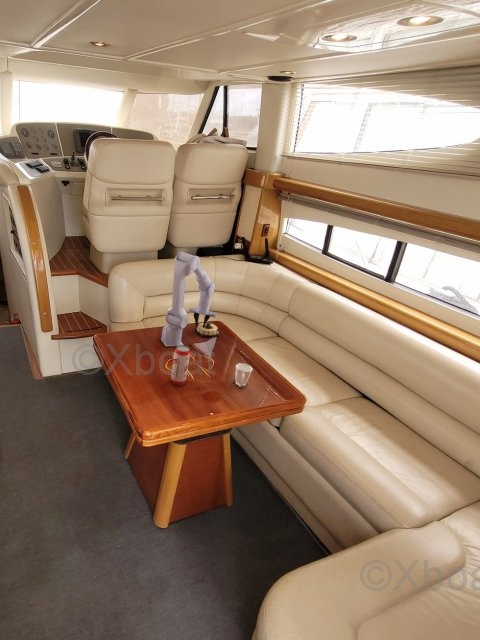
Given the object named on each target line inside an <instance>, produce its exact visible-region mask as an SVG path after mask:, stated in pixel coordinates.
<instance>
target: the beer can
mask: <svg viewBox="0 0 480 640" xmlns="http://www.w3.org/2000/svg"><path fill="white" fill-rule="evenodd" d="M190 356H191V351H190V347H189V346H186V345H183V346H182V345H181V346H176V349H175V350H174V353H173V360H172V367H171V374H170V381H171V383H172V384H173V385H175V386H182V385H185V383H186V382H187V374H188V369H189V363H190Z"/></svg>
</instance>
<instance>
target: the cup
mask: <svg viewBox="0 0 480 640" xmlns="http://www.w3.org/2000/svg"><path fill="white" fill-rule="evenodd" d="M253 369H254V368H253V367H252V365H249V364H248V363H237V364H236V365H235V373H234V374H235V375H234V377H235V385H237V386H238V388H242V387H245V386H246V385H247V384H246V383H247V382H248V380H249V379H250V377H251V374H252V372H253Z"/></svg>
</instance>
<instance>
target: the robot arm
mask: <svg viewBox="0 0 480 640" xmlns="http://www.w3.org/2000/svg"><path fill="white" fill-rule="evenodd" d="M173 263H174V264H173V279H172V281H173V282H172V299H171V300H172V301H171V302H172V304H171V307H169V308H168V309H167V310H166V314H165V322H166V326H163V327H162V333H161V338H160V340H161V342H162V344H163V345H164V346H165V347H177V346H181V345H182V346H184V343H183V341H182V337H183V330H184V329H185V328H186V327H187V325H188V323H189V319H188V313H192V314H193V315H192V316H193V319H194V323H195V328H197V327H198V324H199V319H200V315H202V316H204V318H203V323H204V324H203V328H204V327H205V324H207V323H208V321H209V319H210V318H214V319H216V318H217V315H218V314H217V312H214V311H211V310H210V304H211V299H212V296H213V295H214V291H215V289H216V283H214V282H213V281H212V280H211V278H210V277H209V274H208V272H207V271H204V270H203V268H202V267H201V259H200V256H197V255H193V254H190V253H188V252H184V251H179V252H178V253H177V254H176V256H175V257H174V262H173ZM193 273H194V274H195V280H196V281H197V283H198V290H199V291H200V293H199V299H198V304H197V308H196V307H195V308H194V307H189V308H188V313H187V311H186V310H185V308H184V304H185V292H186V291H185V289H186V277H188V276H190V275H192V274H193Z"/></svg>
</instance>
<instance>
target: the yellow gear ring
mask: <svg viewBox="0 0 480 640" xmlns="http://www.w3.org/2000/svg"><path fill="white" fill-rule="evenodd" d="M203 324H204V322H200V323H198V326H197V327H196V328H197V330H196V332H197V333H198V332H199V333H201V334H204V335H215V334H216V333H217V334H218V329H219V327H218V326H217V325H216V324H213V323H210V329H206V324H207V323H206V324H205V327H204V328H203ZM199 333H198V334H199Z"/></svg>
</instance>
